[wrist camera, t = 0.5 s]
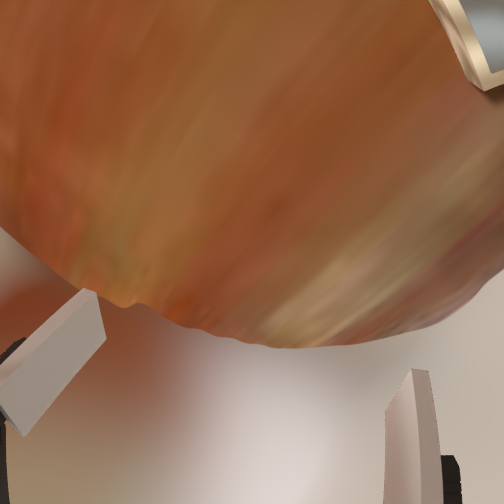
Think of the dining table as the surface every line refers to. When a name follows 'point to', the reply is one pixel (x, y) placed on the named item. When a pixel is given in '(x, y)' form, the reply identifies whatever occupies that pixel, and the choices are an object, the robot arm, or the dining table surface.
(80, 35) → the dining table surface
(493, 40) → the birch base block
